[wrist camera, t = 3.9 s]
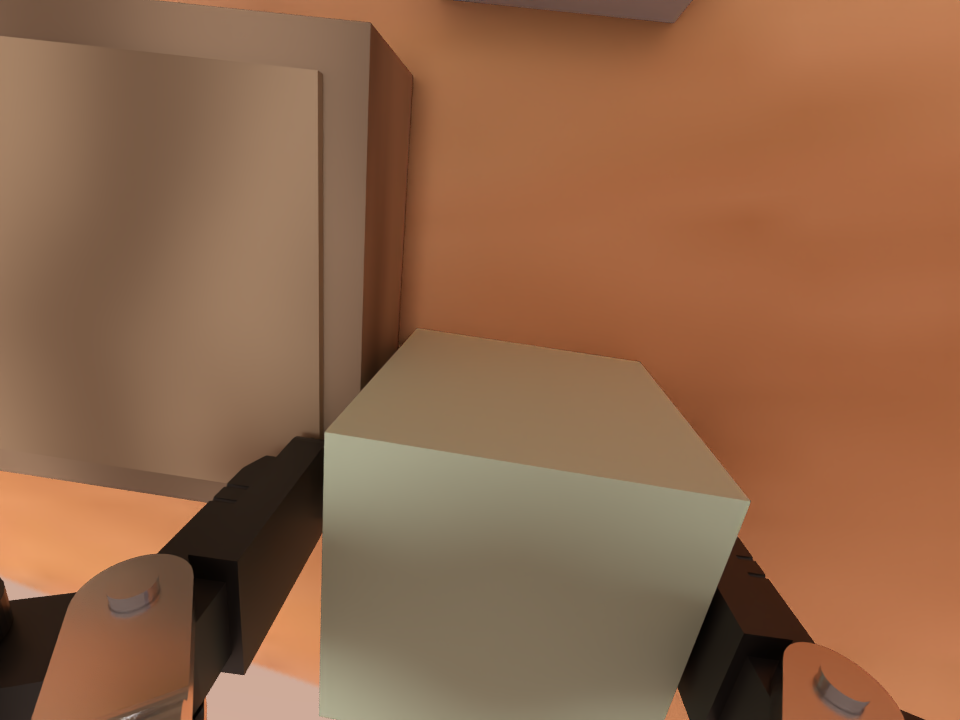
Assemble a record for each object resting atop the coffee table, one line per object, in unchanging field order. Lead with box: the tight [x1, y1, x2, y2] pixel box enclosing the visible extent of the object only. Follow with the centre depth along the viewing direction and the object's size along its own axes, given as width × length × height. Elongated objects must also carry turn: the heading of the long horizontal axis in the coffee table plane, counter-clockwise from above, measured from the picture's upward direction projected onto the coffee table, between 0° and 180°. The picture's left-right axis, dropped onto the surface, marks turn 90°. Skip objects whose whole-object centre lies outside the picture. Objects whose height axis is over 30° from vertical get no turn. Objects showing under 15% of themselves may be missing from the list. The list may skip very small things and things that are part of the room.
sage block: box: [319, 328, 751, 720], centre depth 10 cm, size 6×6×6 cm
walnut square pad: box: [0, 0, 413, 503], centre depth 10 cm, size 10×10×3 cm
